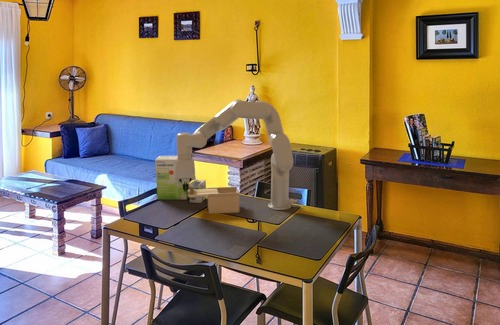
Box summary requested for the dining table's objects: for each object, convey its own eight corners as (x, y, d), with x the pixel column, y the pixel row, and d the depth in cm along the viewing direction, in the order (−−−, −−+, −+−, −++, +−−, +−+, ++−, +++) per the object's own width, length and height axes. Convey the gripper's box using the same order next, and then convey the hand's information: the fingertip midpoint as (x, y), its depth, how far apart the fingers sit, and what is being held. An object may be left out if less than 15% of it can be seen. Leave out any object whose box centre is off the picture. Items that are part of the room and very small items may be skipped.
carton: (236, 205, 231) (236, 186, 228) (239, 212, 219) (239, 193, 217) (207, 206, 228) (207, 187, 226) (208, 213, 217) (208, 194, 215)
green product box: (156, 199, 239) (154, 158, 234) (160, 194, 249) (159, 155, 244) (187, 200, 239) (185, 159, 233) (190, 194, 249) (189, 155, 243)
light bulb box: (200, 203, 234) (200, 184, 231) (189, 202, 235) (188, 184, 232) (206, 197, 244) (206, 179, 241) (195, 197, 245) (194, 179, 243)
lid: (217, 190, 226) (216, 183, 225) (218, 195, 217) (218, 188, 216) (188, 191, 224) (187, 184, 223) (188, 196, 214) (187, 189, 213)
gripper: (199, 154, 219) (199, 188, 223) (170, 155, 217) (171, 189, 221) (199, 157, 212) (200, 192, 216) (169, 158, 210) (171, 193, 214)
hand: (185, 190), depth 218 cm, fingers closed
